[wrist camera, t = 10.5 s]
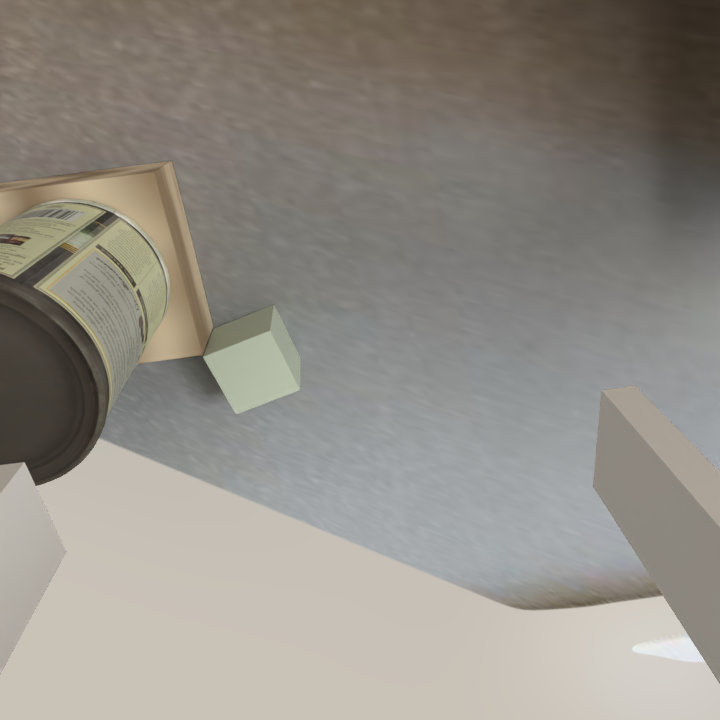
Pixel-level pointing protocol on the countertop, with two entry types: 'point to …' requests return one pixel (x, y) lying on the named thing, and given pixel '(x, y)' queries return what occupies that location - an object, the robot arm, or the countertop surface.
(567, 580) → the countertop surface
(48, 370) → the coffee can
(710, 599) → the robot arm
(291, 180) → the countertop surface
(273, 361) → the sage block
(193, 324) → the beech block
